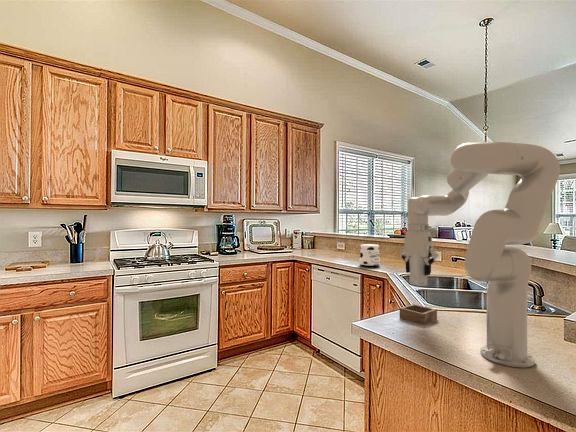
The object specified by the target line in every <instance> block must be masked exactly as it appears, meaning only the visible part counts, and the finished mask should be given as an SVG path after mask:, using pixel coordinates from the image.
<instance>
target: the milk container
mask: <svg viewBox="0 0 576 432" xmlns="http://www.w3.org/2000/svg"><path fill="white" fill-rule="evenodd" d="M379 245H380V244H373V243H372V244H371V243H366V244H364V243H363V244H360V247H359V249H360V250H359V253H360V254H359V259H358V263H359V265H360V266H362V265H364V266H363V267H366V266H376V267H379V266H380V265H381V257H380V246H379Z"/></svg>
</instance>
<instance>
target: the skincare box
mask: <svg viewBox="0 0 576 432" xmlns="http://www.w3.org/2000/svg"><path fill="white" fill-rule="evenodd" d="M425 265H426V263H425V261H424V259H423V258H421V257H420V254H414V256H413V257H410V258H409V271H410V272H409V283H410V284H413V285H416V286H418V287H419V286H421V287H422V286H423V287H424V286H428V275H424V266H425Z"/></svg>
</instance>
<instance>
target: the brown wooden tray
mask: <svg viewBox="0 0 576 432" xmlns="http://www.w3.org/2000/svg"><path fill="white" fill-rule="evenodd" d="M399 319H401V320H405V321H408V322H412V323H416V324H418V325H422V326H424V325H427V324H429V323H430V324H431V323H433V322H435V321H437V320H438V309H437V308H436V309H435V308H431V307H427V306H424V305H419V304H413V303H412V304H409V305H405V306H403V307H400V308H399Z"/></svg>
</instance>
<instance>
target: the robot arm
mask: <svg viewBox="0 0 576 432" xmlns="http://www.w3.org/2000/svg"><path fill="white" fill-rule="evenodd" d="M450 165H451V166H452V167H453V169H452V170H450V171H449V173H447V175H446V183H448V185H449V187H450V188H451V189H452V190H451V191H449V192H448V193H447V194H446V195H428V194H427V195H421V196H415V197H410V198H408V199H407V231H406V232H405V235H404V236H405V237H404V245H403V246H404V247H403V248H402V249H400V250H399V251H398V254H399V255H400V257H401V259H402V260H403V262H404V263H405V273H408V274H410V271H409V258H410V257H413V256H414V254H420V257H421V258H423V259H424V261H425V263H426V265H425V266H424V275H427V276H430V275H431V273H432V265H433V264H434V262H436V260H437V259H438V258H439V257H440V255H439V254H438V253H437V252H436V251H435V250H434V244H433V238H432V237H433V236H432V234H431V232H430V230H431V229H432V226H431V225H429V217H434V216H440V217H441V216H443V217H445V216H449V215H452V214H453V213H455V212H457V211H458V210H459V209H461V208H462V207H463V206H464V204H465V203H466V202H467V200H468V198H469V194H470V190H471V189H472V188H474V186H476V185H477V184H478V183H480V182H481V181H482V180H483V179H485V178H486V177H487V176H488V175H490V174H491V175H504V176H519V177H520V179H519V181H518V182H516V184H515V185H514V186H513V188H512V189H511V191H510V192H509V196H508V200H507V202H506V204H505V207H504V208H503V209H491V210H488V211H485V212H483V213H482V214H481V215H480V216H479V217H478V218H477V220H476V221H475V223H474V226H473V228H472V233H471V236H470V239H469V242H468V245H467V249H466V253H465V255H464V269H465V271H466V273H467V274H468V276H469V277H470V278H472V280H475V281H477V282H489V283H488V286H487V289H486V296H485V297H486V345H483V346H482V347H480V351H479V352H480V354H481V355H482V357H484V358H485V359H486V360H489V361H491V362H494V363H495V364H499V365H501V366H507V367H512V368H530V367H533V366H535V363H536V362H535V358H534V357H533V355H531V354H530V353H528V287H529V283H530V282H529V281H530V277H531V272H532V262H531V258H530V256H529V255H528V254H527V253H526V252H525V250H523V249H521V248H519V247H516V246H517V245H525V244H529V243H531V242H533V241H534V240H535V238H536V237H537V235H538V231H539V229H540V226H541V224H542V221H543V217H544V215H545V213H546V210H547V207H548V203H549V201H550V198H551V196H552V195H553V192H554V189H555V187H556V185H557V183H558V181H559V177H560V171H561V167H560V166H561V165H560V162H559V160H558V158H557V157H556V155H555V154H554V153H553V152H552V151H551V150H549V149H547V148H546V147H543V146H541V145H536V144H531V143H521V142H520V143H519V142H509V141H508V142H507V141H485V142H484V141H483V142H465V143H462V144H460V145H458V146H456V148H455V149H453V151H452V153H451V155H450Z"/></svg>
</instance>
